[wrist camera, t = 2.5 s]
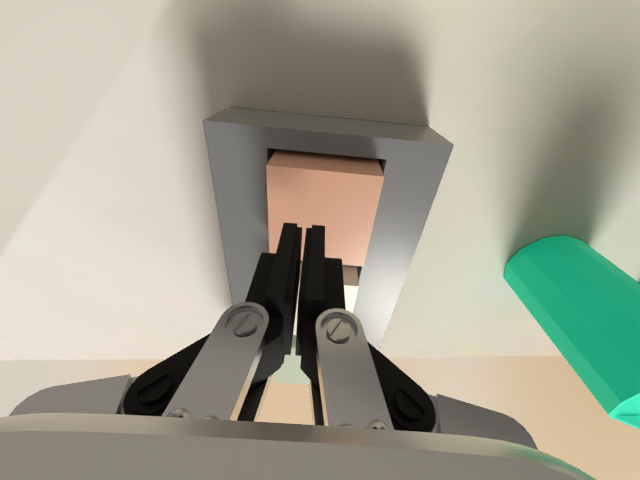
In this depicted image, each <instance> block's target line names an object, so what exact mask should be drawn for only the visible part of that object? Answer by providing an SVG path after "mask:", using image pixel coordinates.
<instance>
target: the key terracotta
mask: <svg viewBox="0 0 640 480" xmlns="http://www.w3.org/2000/svg"><path fill="white" fill-rule="evenodd" d="M266 172H267V200H268V228H269V253H276V251H277V247H278V243H279V239H280V235H281V231H282V228H283V224H284V222H285V223H297V227H302V245H301V261H303V253H304V244H305V236H306V228H312V225H322V226H325V257H328V258H340V259H342V265H352V266H363V267H364V262H365V258H366V254H367V249H368V245H369V241H370V237H371V232H372V228H373V224H374V220H375V215H376V211H377V207H378V202H379V198H380V194H381V190H382V185H383V181H384V174H383V172H382V170H381V167H380V165H379V162H378V160H377V159H375V158H365V157H355V156H345V155H334V154H324V153H314V152H303V151H293V150H283V149H276V151H275V152H274V154H273V155H272V157H271V159H270V160H269V162H268V163H267V165H266Z"/></svg>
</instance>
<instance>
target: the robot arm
mask: <svg viewBox="0 0 640 480" xmlns="http://www.w3.org/2000/svg"><path fill="white" fill-rule="evenodd" d="M301 245H302V227H297V223H285V222H284V224H283V228H282V231H281V235H280V239H279V243H278V247H277V251H276V253H263V252H262V253H261V255H260V258H259V261H258V264H257V267H256V270H255V273H254V276H253V279H252V282H251V285H250V288H249V291H248V294H247V297H246V300H245V302H243V303H238V304H236V305H233V306H231V307H230V308H229V309H227V310H226V311H225V312H224V313H223V315H222V316H221V317H220V319H219V321H218V322H217V324H216V326H215V327H214V329H213V331H212V332H211V333H210V334H209V335H207V336H205V337H203V338H202V339H200V340H198V341H196V342H195V343H193V344H191V345H190V346H188V347H186V348H184V349H183V350H181V351H179V352H178V353H176V354H174V355H172V356H171V357H169V358H167V359H166V360H164V361H162V362H161V363H159V364H157V365H155V366H154V367H152V368H150V369H148V370H147V371H146V372H144V373H143V374H141V375H140V376H139V377H133V378H132V377H131V376H130V375H124V376H117V377H111V378H105V379H98V380H92V381H85V382H79V383H73V384H66V385H60V386H53V387H50V388H46V389H43V390H40V391H39V392H37V393H35V394H33V395H31V396H29V397H28V398H26V399H25V400H24V401H23V402H21V403H20V404H19V405H18V406H16V408H15V409H14V410H13V411H12V412H11V414H10V415H9V416H7V417H1V418H0V480H596V479H595V478H593V477H591V476H590V475H588V474H587V473H585V472H583V471H582V470H580V469H578V468H576V467H574V466H572V465H570V464H568V463H566V462H564V461H563V460H561V459H559V458H556V457H554V456H551V455H549V454H547V453H544V452H542V451H539V450H538V449H537V447H536V445H535V443H534V441H533V438H532V437H531V435H530V434H529V433H528V432H527V430H526V429H525V428H524V427H523V426H522V425H521V424H520V423H518V422H517V421H516V420H515V419H513V418H511V417H509V416H507V415H505V414H502V413H499V412H496V411H492V410H489V409H486V408H483V407H479V406H475V405H473V404H469V403H466V402H463V401H459V400H456V399H453V398H449V397H446V396H443V395H440V394H437V395H436V396H432V395H428V394H427V393H426V392H425V391H424V390H423V389H422V388H421V387H420V386H419V385H418V384H416V383H415V382H414V381H413V380H412V379H411V378H410V377H408V376H407V375H406V374H405V373H404V372H403V371H401V370H400V369H399V368H398V367H397V366H396V365H394V364H393V363H392V362H391V361H390V360H389V359H387V358H386V357H385V356H384V355H383V354H382V353H380V352H379V351H378V350H377V349H376V348H375V347H373V346H372V345H371V344H370V343H369V342H368V341H367V339H366V336H365V333H364V329H363V326H362V324H361V322H360V320H359V319H358V318H357V317H356V316H355V315H354V314H353V313H351V312H350V311H347V310H346V307H345V294H344V280H343V267H342V259H340V258H328V257H325V226H322V225H312V228H306V236H305V244H304V253H303V261H302V270H301V278H300V264H301ZM299 281H300V287H299ZM298 290H299V296H298ZM297 298H298V311H297V331H296V351H295V355H296V356H301V364H300V369H301V370H302V371H303V372H304V373H305V375H306V376H307V377H308V378H309V386H310V398H311V409H312V420H313V425H302V424H284V423H268V422H257V421H258V418H259V415H260V412H261V409H262V406H263V402H264V399H265V396H266V393H267V390H268V387H269V384H270V380H271V375H272V374H273V373H275V372H276V371H277V370H278V369H280V368H281V366H282V364H284V358H285V355H291V348H292V340H293V331H294V323H295V315H296V306H297Z"/></svg>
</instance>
